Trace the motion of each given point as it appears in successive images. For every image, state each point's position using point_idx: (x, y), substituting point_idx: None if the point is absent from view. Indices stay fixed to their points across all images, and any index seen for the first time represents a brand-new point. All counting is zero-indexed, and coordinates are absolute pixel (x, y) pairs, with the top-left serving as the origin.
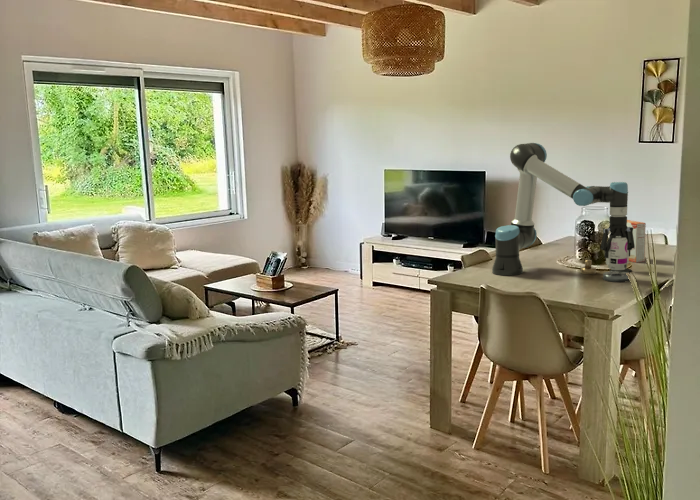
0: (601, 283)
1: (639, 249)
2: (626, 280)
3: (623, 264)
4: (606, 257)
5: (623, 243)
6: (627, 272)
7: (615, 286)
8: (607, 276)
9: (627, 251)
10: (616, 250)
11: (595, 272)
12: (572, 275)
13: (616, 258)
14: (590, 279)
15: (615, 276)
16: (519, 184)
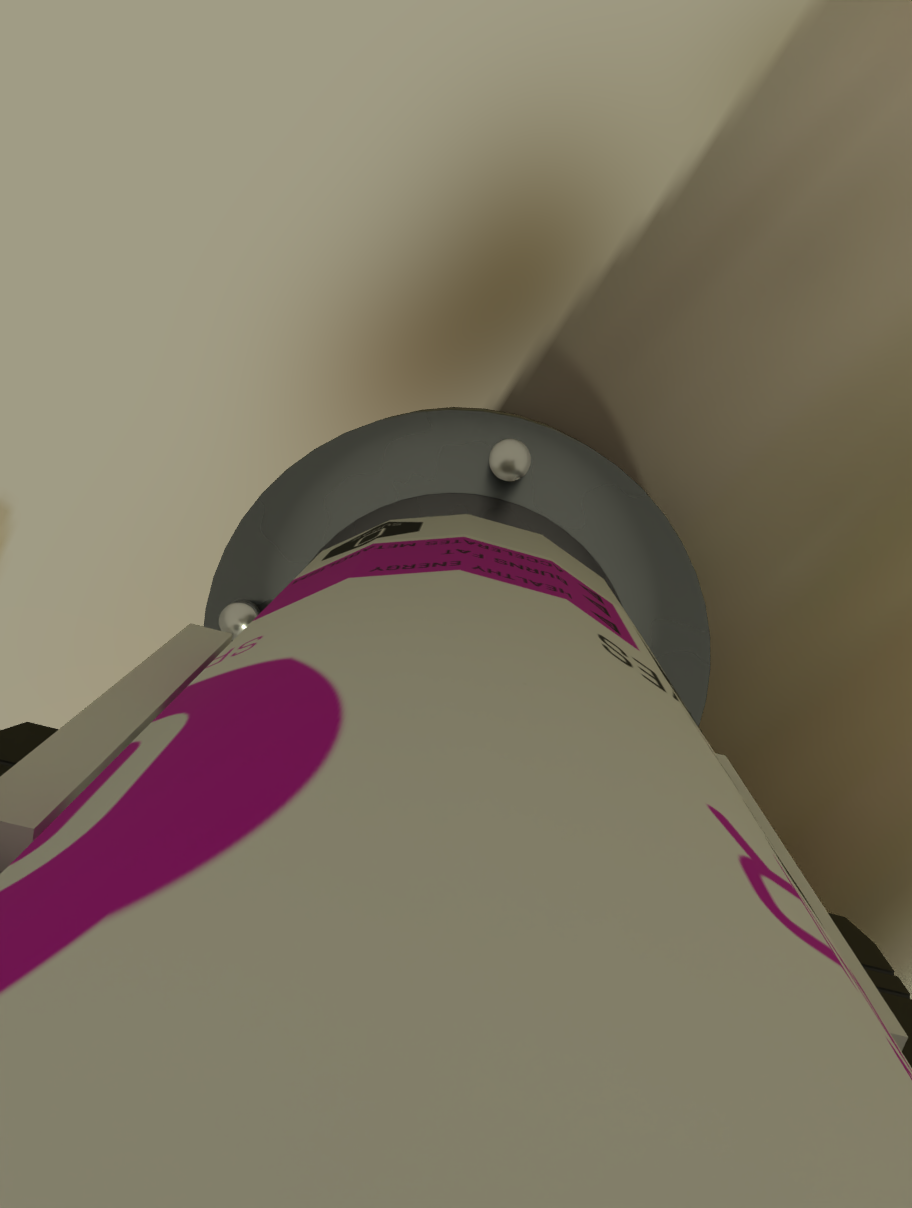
0: (905, 539)
1: None
2: (452, 407)
3: (453, 533)
4: (846, 927)
5: (436, 925)
6: (235, 615)
7: (902, 216)
8: (707, 646)
9: (57, 796)
10: (764, 839)
11: None
12: None
13: (666, 680)
14: (812, 847)
15: (632, 525)
16: None
